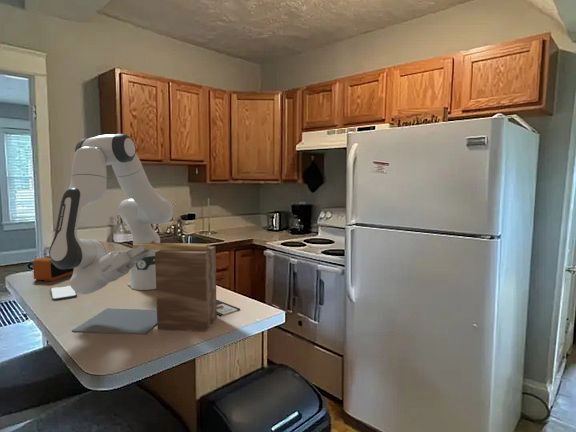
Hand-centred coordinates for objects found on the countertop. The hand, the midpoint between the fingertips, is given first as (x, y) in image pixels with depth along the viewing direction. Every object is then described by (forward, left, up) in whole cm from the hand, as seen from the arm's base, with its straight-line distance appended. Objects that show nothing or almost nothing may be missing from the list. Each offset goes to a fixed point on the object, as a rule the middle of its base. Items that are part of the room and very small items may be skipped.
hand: (149, 244), depth 124 cm
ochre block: (0, +7, -1) cm, 7 cm away
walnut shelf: (0, +12, -26) cm, 29 cm away
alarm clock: (-54, -70, -27) cm, 93 cm away
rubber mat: (0, -10, -26) cm, 28 cm away
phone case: (-26, -50, -27) cm, 62 cm away
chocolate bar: (-16, +17, -27) cm, 36 cm away
